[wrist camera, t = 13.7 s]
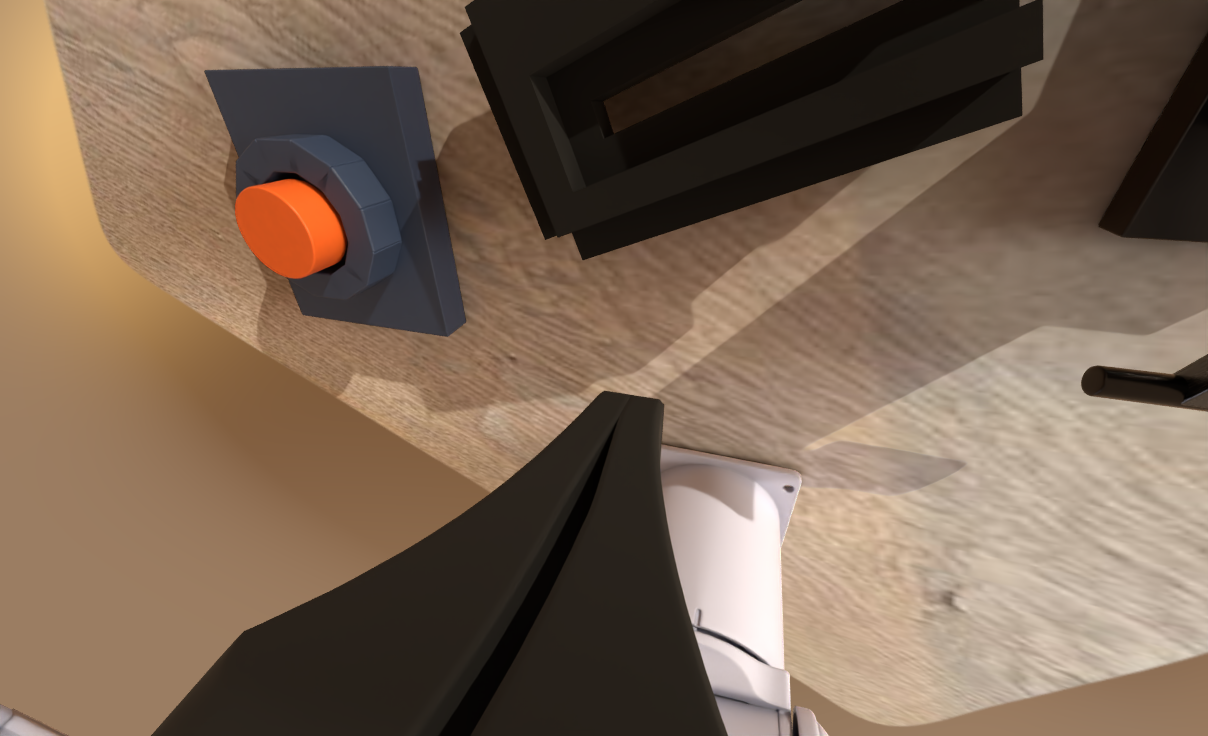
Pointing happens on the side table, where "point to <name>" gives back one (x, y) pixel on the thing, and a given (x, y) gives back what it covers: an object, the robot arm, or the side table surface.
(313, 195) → the button
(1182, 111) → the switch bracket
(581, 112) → the tool
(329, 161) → the button box
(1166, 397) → the switch lever
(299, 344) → the side table surface
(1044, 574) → the side table surface
